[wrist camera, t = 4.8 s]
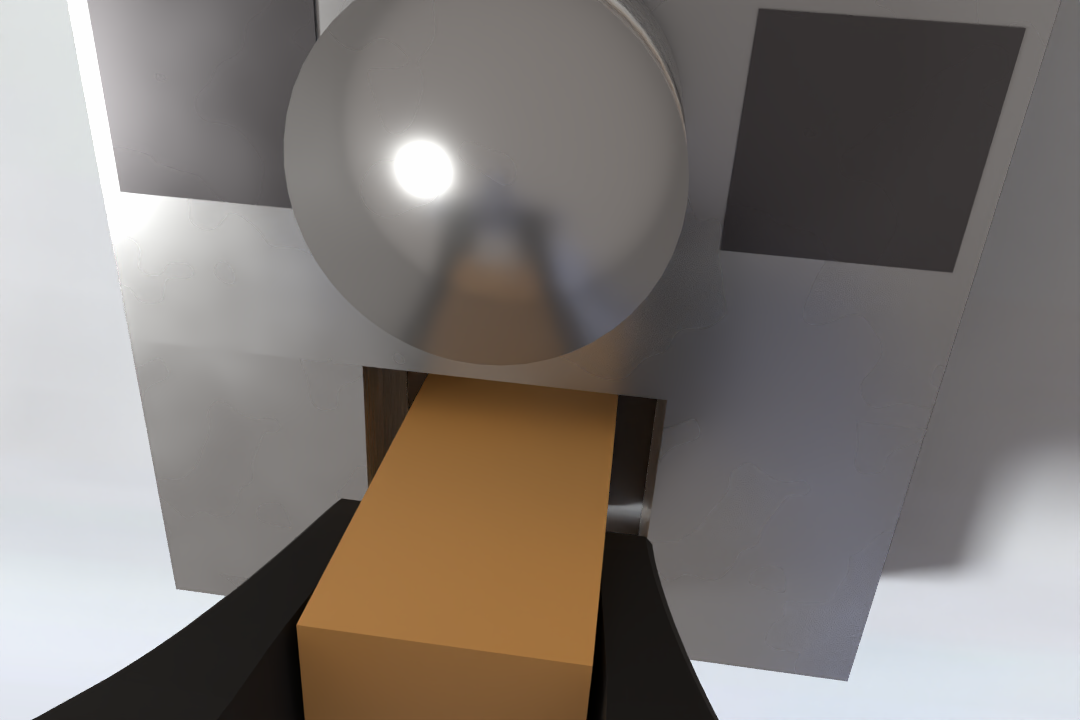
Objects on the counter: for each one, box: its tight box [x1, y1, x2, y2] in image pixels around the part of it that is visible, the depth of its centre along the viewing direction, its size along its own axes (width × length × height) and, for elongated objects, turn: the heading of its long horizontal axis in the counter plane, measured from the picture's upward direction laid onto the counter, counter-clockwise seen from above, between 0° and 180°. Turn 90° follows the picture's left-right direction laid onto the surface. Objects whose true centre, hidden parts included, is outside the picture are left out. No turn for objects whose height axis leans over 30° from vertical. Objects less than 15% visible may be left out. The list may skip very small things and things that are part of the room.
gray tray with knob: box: [67, 0, 1061, 681], centre depth 12 cm, size 12×12×6 cm
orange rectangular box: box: [296, 373, 618, 720], centre depth 13 cm, size 3×3×7 cm
